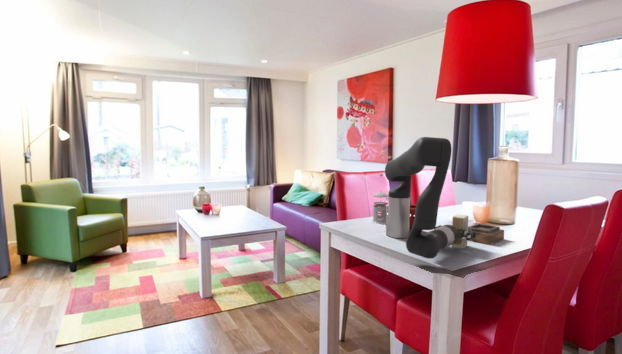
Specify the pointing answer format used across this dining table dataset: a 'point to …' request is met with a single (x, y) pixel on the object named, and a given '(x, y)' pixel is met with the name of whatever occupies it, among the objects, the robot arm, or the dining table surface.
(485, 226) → the walnut stand
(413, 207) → the plant pot
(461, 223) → the skincare box
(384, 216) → the french press
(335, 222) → the dining table surface
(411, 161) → the robot arm
